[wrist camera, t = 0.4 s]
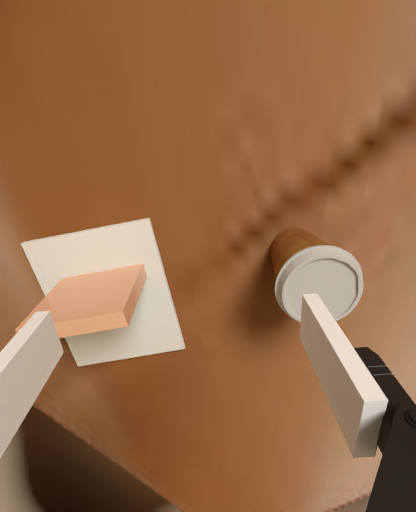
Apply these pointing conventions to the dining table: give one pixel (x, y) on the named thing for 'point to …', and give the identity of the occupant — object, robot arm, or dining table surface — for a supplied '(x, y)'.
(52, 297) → the tile
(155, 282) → the mat
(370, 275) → the dining table surface
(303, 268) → the disposable coffee cup
